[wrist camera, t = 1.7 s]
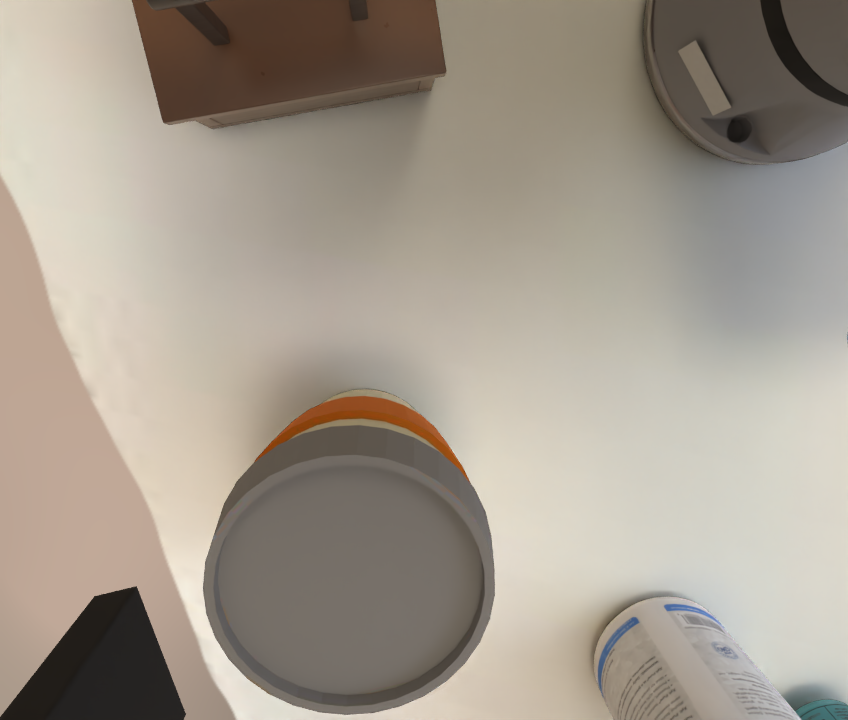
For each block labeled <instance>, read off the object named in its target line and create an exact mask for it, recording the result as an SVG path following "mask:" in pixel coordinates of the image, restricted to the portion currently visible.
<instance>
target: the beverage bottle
mask: <svg viewBox="0 0 848 720" xmlns="http://www.w3.org/2000/svg"><path fill="white" fill-rule="evenodd" d="M795 712H796V713H797V715H798V716H799V717H800V718H801V719H802V720H848V705H847V704H845V703H843V702H840V701H837V700H818V701H814V702H811V703H808V704H806V705H804V706H802V707H800V708H799V709H797V710H796V711H795Z"/></svg>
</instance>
